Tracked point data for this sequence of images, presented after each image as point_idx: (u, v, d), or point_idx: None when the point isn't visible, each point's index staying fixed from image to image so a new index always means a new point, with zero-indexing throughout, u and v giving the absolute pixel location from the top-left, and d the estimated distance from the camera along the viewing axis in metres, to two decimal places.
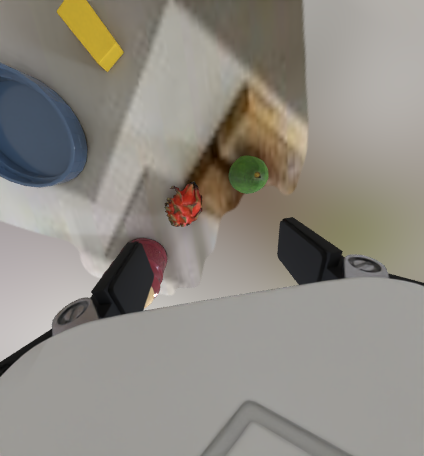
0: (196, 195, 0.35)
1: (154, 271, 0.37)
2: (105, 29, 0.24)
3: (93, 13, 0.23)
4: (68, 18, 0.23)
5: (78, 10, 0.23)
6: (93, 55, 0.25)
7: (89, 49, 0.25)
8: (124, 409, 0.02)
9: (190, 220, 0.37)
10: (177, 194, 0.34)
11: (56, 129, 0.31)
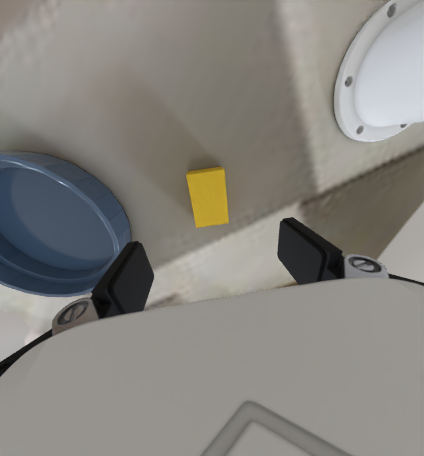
0: None
1: None
2: (226, 211, 0.20)
3: (224, 195, 0.19)
4: (195, 185, 0.19)
5: (211, 186, 0.19)
6: (196, 220, 0.21)
7: (196, 215, 0.20)
8: (124, 409, 0.02)
9: None
10: None
11: (95, 235, 0.23)
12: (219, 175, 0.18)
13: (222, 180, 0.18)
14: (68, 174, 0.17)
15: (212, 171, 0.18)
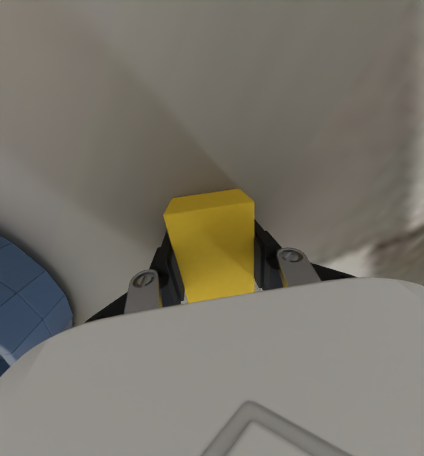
0: None
1: None
2: (251, 280, 0.10)
3: (250, 254, 0.09)
4: (184, 237, 0.08)
5: (221, 237, 0.08)
6: (190, 297, 0.10)
7: (190, 289, 0.10)
8: (124, 409, 0.02)
9: None
10: None
11: None
12: (242, 215, 0.08)
13: (248, 224, 0.08)
14: None
15: (226, 206, 0.08)
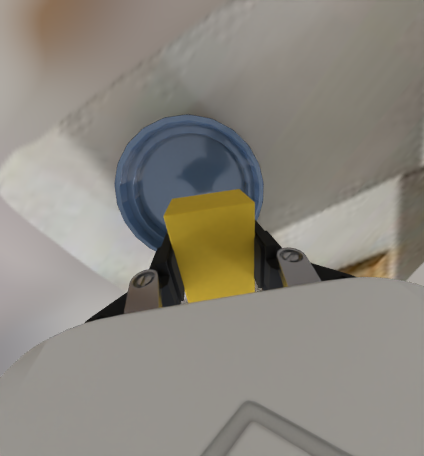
0: None
1: None
2: (251, 281, 0.10)
3: (250, 255, 0.09)
4: (185, 237, 0.08)
5: (222, 238, 0.08)
6: (190, 298, 0.10)
7: (190, 290, 0.10)
8: (124, 409, 0.02)
9: None
10: None
11: None
12: (243, 216, 0.08)
13: (248, 224, 0.08)
14: None
15: (226, 207, 0.08)
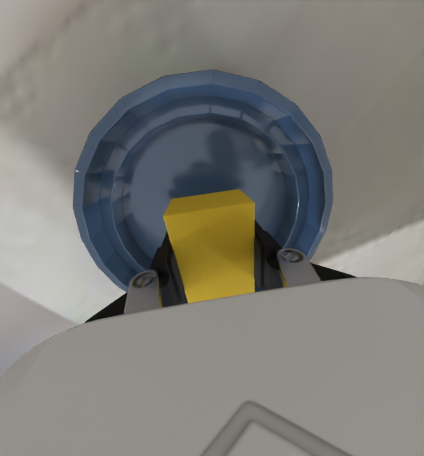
0: None
1: None
2: (251, 281, 0.10)
3: (250, 255, 0.09)
4: (184, 237, 0.08)
5: (221, 238, 0.08)
6: (190, 298, 0.10)
7: (190, 290, 0.10)
8: (124, 409, 0.02)
9: None
10: None
11: None
12: (243, 216, 0.08)
13: (248, 224, 0.08)
14: None
15: (226, 207, 0.08)
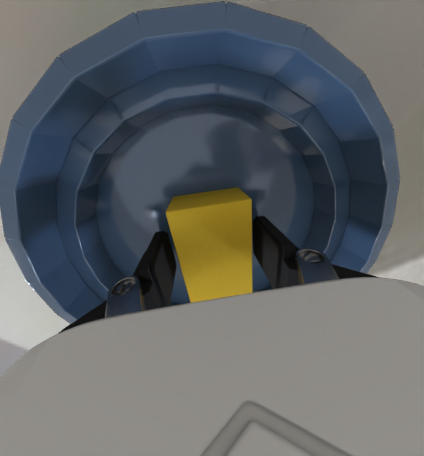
0: None
1: None
2: (249, 275, 0.10)
3: (247, 249, 0.09)
4: (186, 232, 0.08)
5: (220, 233, 0.09)
6: (191, 292, 0.11)
7: (190, 284, 0.10)
8: (124, 409, 0.02)
9: None
10: None
11: None
12: (240, 212, 0.08)
13: (245, 220, 0.08)
14: None
15: (224, 203, 0.08)
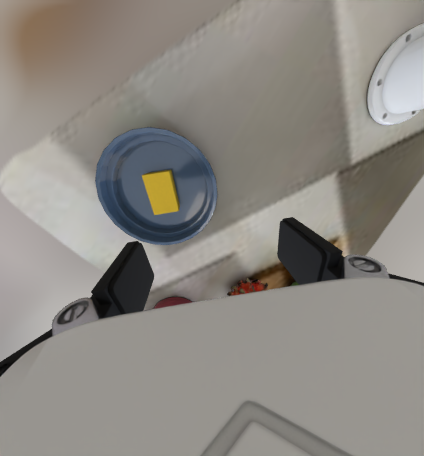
0: None
1: None
2: (175, 201, 0.28)
3: (172, 190, 0.27)
4: (148, 183, 0.26)
5: (161, 183, 0.26)
6: (153, 209, 0.28)
7: (153, 205, 0.27)
8: (124, 409, 0.02)
9: None
10: None
11: (187, 197, 0.31)
12: (166, 176, 0.26)
13: (168, 178, 0.26)
14: None
15: (160, 172, 0.25)
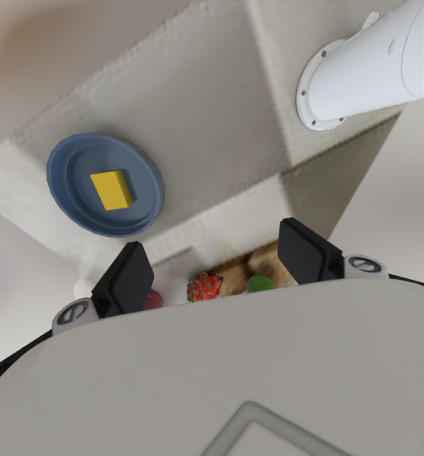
0: (219, 288, 0.42)
1: None
2: (123, 198, 0.31)
3: (119, 188, 0.30)
4: (97, 181, 0.29)
5: (108, 182, 0.29)
6: (105, 205, 0.31)
7: (103, 201, 0.31)
8: (124, 409, 0.02)
9: None
10: (207, 284, 0.40)
11: (140, 195, 0.34)
12: (112, 175, 0.29)
13: (114, 178, 0.29)
14: (134, 148, 0.27)
15: (106, 172, 0.28)
